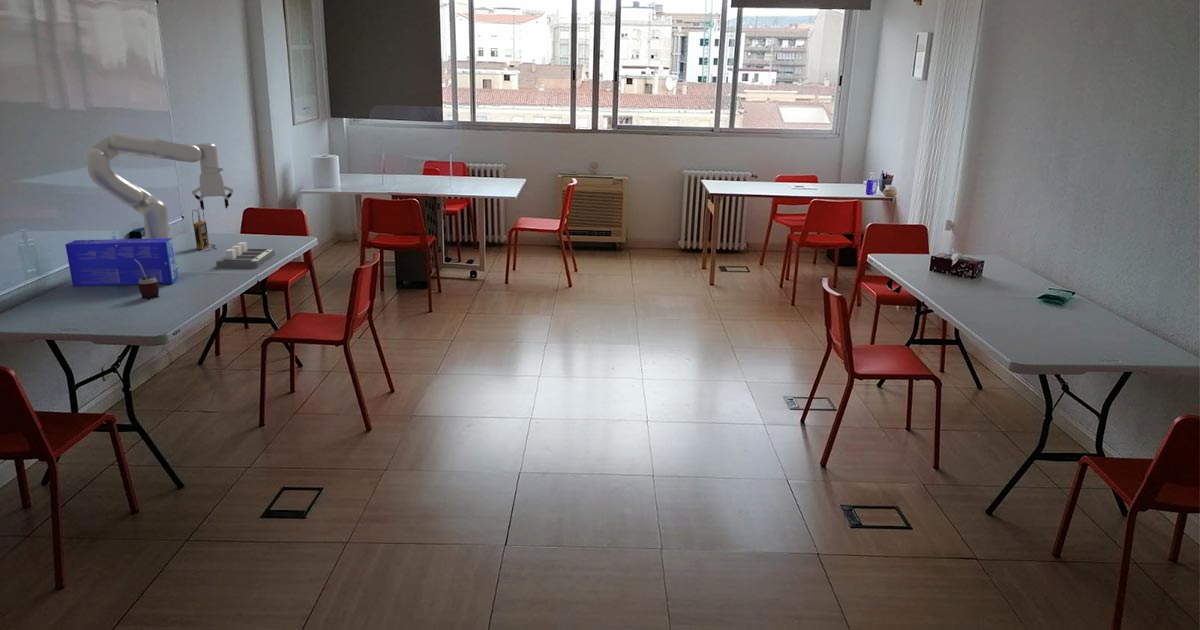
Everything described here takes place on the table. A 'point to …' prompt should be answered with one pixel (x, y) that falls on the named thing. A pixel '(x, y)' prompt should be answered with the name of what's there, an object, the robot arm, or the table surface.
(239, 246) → the tab middle
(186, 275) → the table surface
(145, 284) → the mate gourd
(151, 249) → the toner cartridge box
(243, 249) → the tab
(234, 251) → the tab
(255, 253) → the switch bank
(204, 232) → the multimeter
